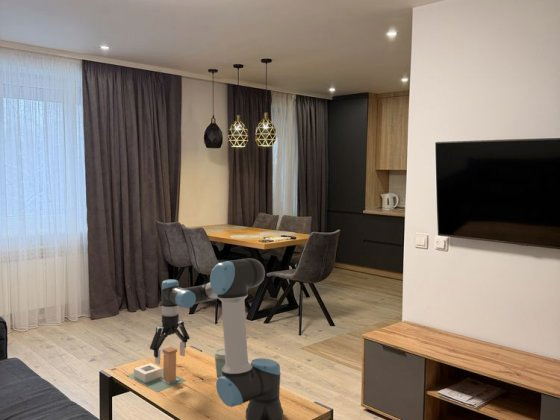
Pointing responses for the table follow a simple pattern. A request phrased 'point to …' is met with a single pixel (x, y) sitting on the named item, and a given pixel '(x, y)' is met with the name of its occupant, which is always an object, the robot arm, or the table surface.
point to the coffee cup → (219, 361)
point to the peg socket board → (153, 377)
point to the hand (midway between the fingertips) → (170, 359)
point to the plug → (169, 364)
